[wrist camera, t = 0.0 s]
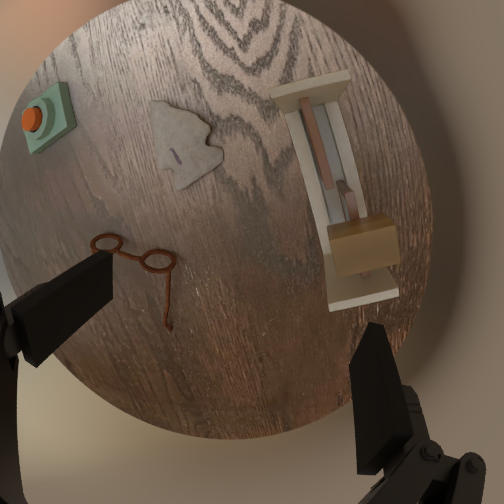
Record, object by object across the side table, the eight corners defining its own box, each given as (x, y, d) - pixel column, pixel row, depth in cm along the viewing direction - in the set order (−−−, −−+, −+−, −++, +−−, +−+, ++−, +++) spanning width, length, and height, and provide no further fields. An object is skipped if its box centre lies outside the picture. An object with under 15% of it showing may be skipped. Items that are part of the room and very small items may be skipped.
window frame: (283, 108, 33) (267, 86, 20) (332, 95, 31) (347, 66, 18) (324, 255, 38) (330, 314, 25) (370, 244, 36) (399, 298, 23)
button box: (30, 112, 38) (13, 113, 34) (67, 82, 35) (49, 80, 32) (39, 153, 40) (22, 155, 36) (76, 126, 38) (59, 126, 34)
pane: (316, 185, 32) (321, 209, 21) (360, 174, 31) (390, 192, 19) (332, 250, 34) (342, 305, 23) (374, 240, 33) (404, 290, 21)
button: (27, 114, 34) (19, 115, 33) (40, 103, 33) (32, 103, 32) (31, 134, 35) (23, 135, 34) (44, 123, 34) (36, 124, 33)
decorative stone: (182, 191, 39) (175, 197, 36) (130, 121, 35) (119, 122, 33) (233, 154, 37) (230, 157, 34) (178, 80, 33) (171, 78, 30)
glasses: (182, 254, 41) (167, 268, 37) (172, 330, 46) (159, 348, 41) (104, 229, 42) (84, 240, 38) (103, 302, 47) (86, 317, 42)
